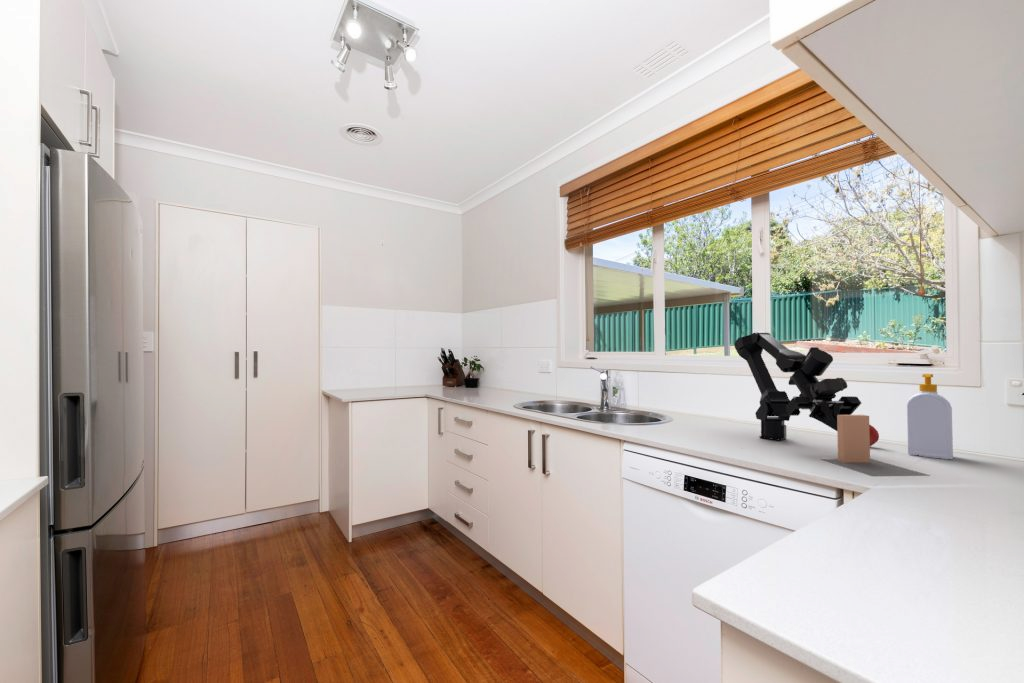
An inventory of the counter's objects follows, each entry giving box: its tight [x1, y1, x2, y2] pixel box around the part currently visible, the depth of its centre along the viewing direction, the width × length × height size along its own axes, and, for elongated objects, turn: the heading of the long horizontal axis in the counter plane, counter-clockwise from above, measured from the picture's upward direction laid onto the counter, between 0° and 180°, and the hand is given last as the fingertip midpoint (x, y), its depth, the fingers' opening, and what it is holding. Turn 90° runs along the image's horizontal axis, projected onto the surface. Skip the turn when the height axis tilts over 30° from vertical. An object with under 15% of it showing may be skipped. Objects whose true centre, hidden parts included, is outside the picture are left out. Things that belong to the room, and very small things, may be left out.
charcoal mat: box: [820, 458, 931, 477], centre depth 109 cm, size 16×14×1 cm
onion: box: [869, 423, 880, 447], centre depth 134 cm, size 6×6×8 cm
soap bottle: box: [906, 373, 954, 460], centre depth 123 cm, size 9×7×23 cm
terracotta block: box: [836, 414, 871, 463], centre depth 115 cm, size 2×7×12 cm, turn 93°
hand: (839, 430), depth 119 cm, fingers closed
